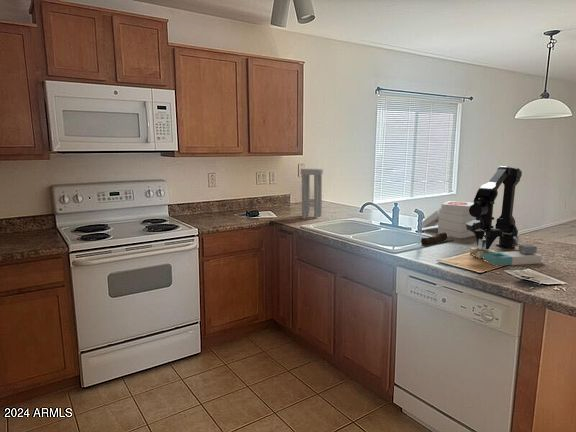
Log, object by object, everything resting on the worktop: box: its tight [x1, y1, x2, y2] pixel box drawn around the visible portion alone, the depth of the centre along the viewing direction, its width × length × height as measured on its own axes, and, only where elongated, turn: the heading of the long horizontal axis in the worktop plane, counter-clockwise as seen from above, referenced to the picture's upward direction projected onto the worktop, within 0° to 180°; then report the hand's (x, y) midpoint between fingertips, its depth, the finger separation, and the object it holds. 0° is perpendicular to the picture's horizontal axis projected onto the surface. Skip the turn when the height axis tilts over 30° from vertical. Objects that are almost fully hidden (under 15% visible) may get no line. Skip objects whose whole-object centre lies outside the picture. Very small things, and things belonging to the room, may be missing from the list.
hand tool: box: [420, 233, 448, 246], centre depth 213 cm, size 19×4×5 cm, turn 120°
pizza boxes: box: [421, 200, 476, 239], centre depth 235 cm, size 19×30×18 cm, turn 33°
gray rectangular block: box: [518, 244, 538, 255], centre depth 179 cm, size 4×6×7 cm
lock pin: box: [477, 237, 488, 251], centre depth 188 cm, size 3×3×8 cm
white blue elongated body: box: [513, 237, 518, 245], centre depth 219 cm, size 5×7×25 cm
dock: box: [483, 250, 543, 266], centre depth 178 cm, size 8×22×4 cm, turn 98°
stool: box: [300, 167, 324, 219], centre depth 290 cm, size 16×16×35 cm
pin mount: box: [469, 246, 497, 259], centre depth 188 cm, size 8×8×3 cm
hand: (482, 247), depth 188 cm, fingers open, 6 cm apart
